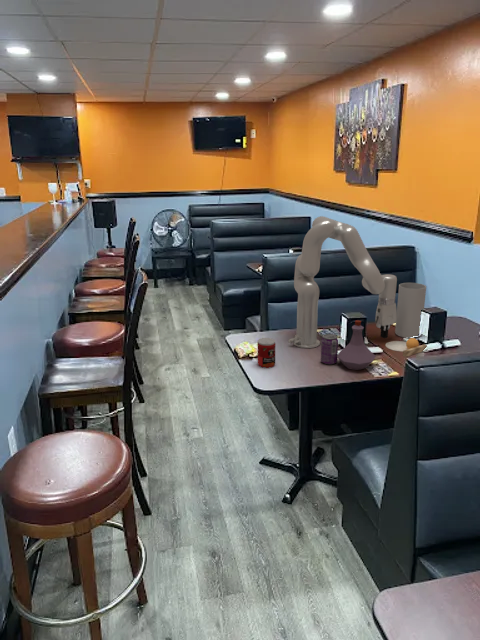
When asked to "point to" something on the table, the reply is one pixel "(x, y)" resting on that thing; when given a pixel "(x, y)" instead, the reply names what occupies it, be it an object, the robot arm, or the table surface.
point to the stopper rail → (414, 350)
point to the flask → (356, 350)
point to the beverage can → (329, 349)
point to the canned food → (266, 352)
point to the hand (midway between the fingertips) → (384, 337)
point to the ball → (412, 343)
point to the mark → (397, 345)
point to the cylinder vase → (409, 309)
